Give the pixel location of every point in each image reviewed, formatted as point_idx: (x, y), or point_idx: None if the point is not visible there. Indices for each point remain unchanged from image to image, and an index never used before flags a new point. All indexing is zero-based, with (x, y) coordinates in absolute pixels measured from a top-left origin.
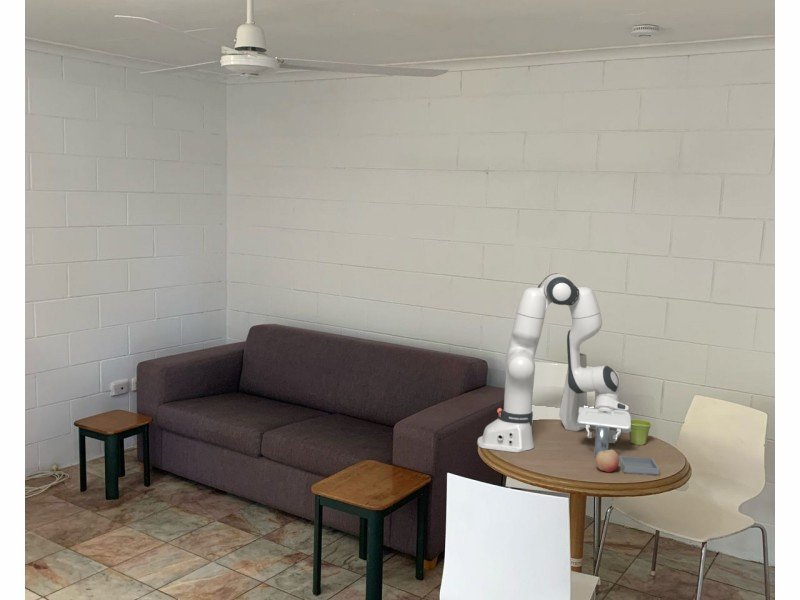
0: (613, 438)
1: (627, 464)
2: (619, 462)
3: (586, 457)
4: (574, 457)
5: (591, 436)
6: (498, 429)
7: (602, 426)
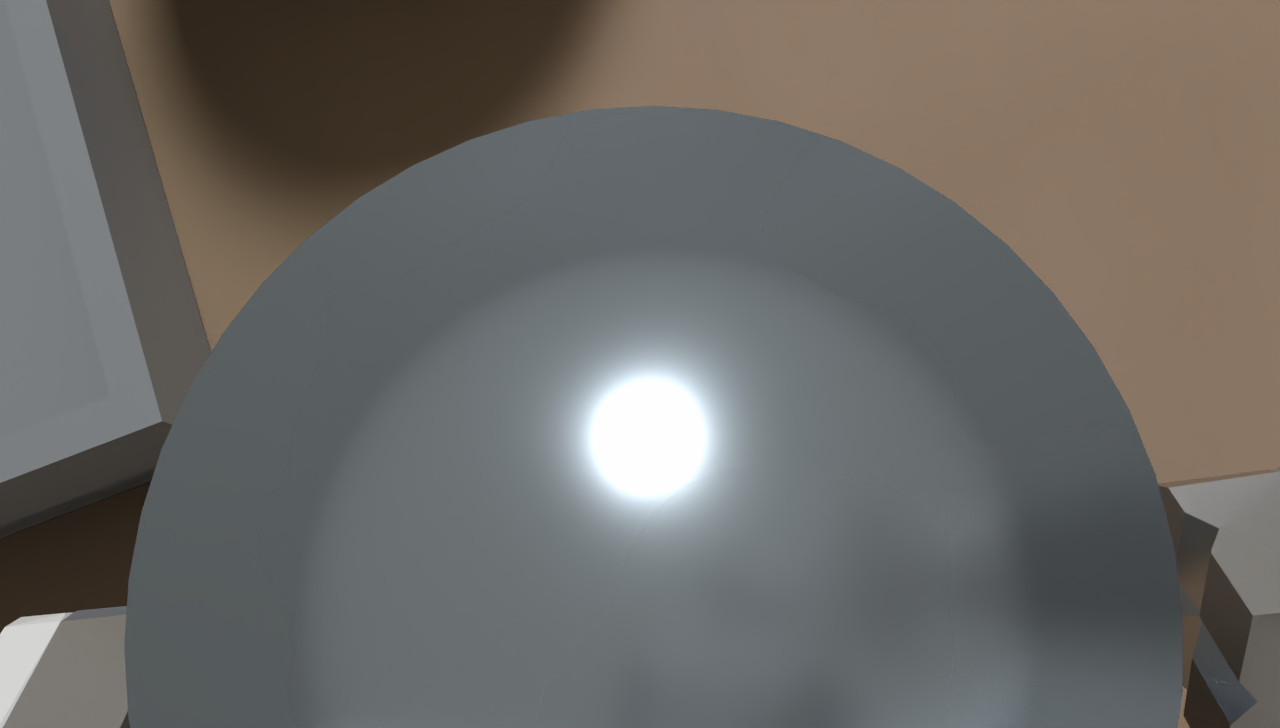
0: None
1: (7, 281)
2: (194, 339)
3: None
4: (1270, 224)
5: None
6: None
7: (672, 702)
